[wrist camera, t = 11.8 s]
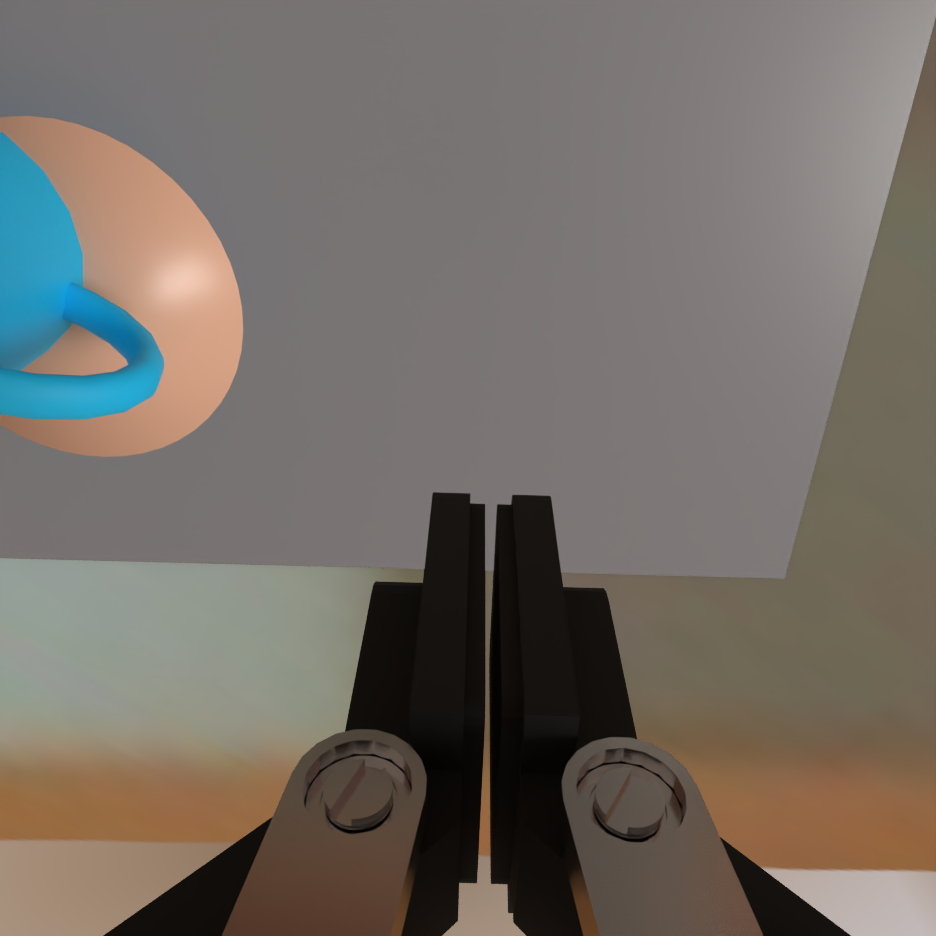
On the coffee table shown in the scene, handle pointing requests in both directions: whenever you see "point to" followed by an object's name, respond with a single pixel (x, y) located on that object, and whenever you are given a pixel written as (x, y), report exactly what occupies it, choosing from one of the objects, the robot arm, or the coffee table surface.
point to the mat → (454, 269)
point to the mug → (57, 307)
